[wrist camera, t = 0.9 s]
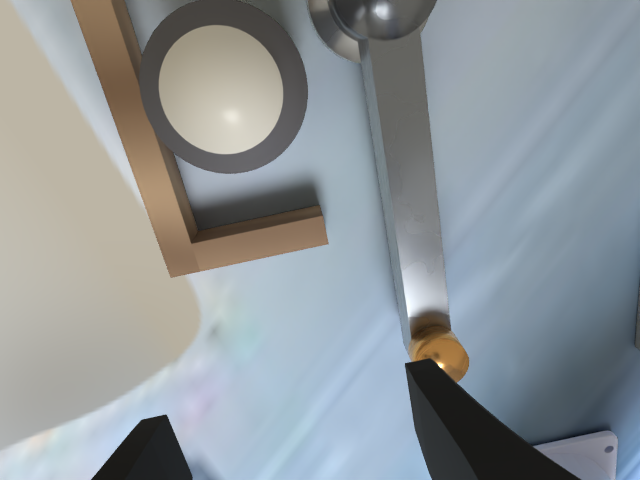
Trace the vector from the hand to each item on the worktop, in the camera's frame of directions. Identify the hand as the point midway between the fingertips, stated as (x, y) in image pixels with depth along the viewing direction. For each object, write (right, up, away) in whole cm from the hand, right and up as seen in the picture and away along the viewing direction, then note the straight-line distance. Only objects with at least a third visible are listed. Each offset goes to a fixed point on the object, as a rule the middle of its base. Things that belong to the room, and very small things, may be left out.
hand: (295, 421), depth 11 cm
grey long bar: (+4, +7, +6) cm, 10 cm away
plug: (-2, +10, +6) cm, 12 cm away
